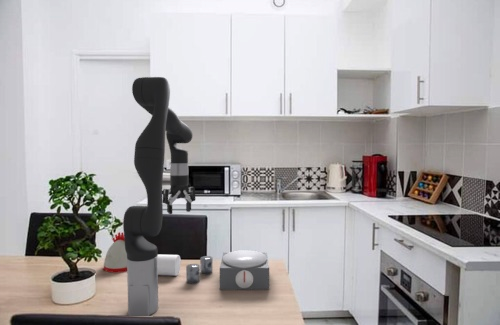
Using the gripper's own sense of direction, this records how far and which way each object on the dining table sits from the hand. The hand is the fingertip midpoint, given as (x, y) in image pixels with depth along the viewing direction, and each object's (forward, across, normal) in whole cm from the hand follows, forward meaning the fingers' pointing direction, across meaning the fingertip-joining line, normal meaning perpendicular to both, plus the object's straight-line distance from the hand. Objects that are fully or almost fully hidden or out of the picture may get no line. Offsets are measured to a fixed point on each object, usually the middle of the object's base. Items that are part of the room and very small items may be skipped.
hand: (179, 212), depth 137 cm
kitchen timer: (+25, -16, +21) cm, 36 cm away
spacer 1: (+25, -2, -14) cm, 28 cm away
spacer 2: (+24, +7, -10) cm, 27 cm away
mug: (+25, -5, +1) cm, 25 cm away
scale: (+24, +13, -27) cm, 38 cm away
